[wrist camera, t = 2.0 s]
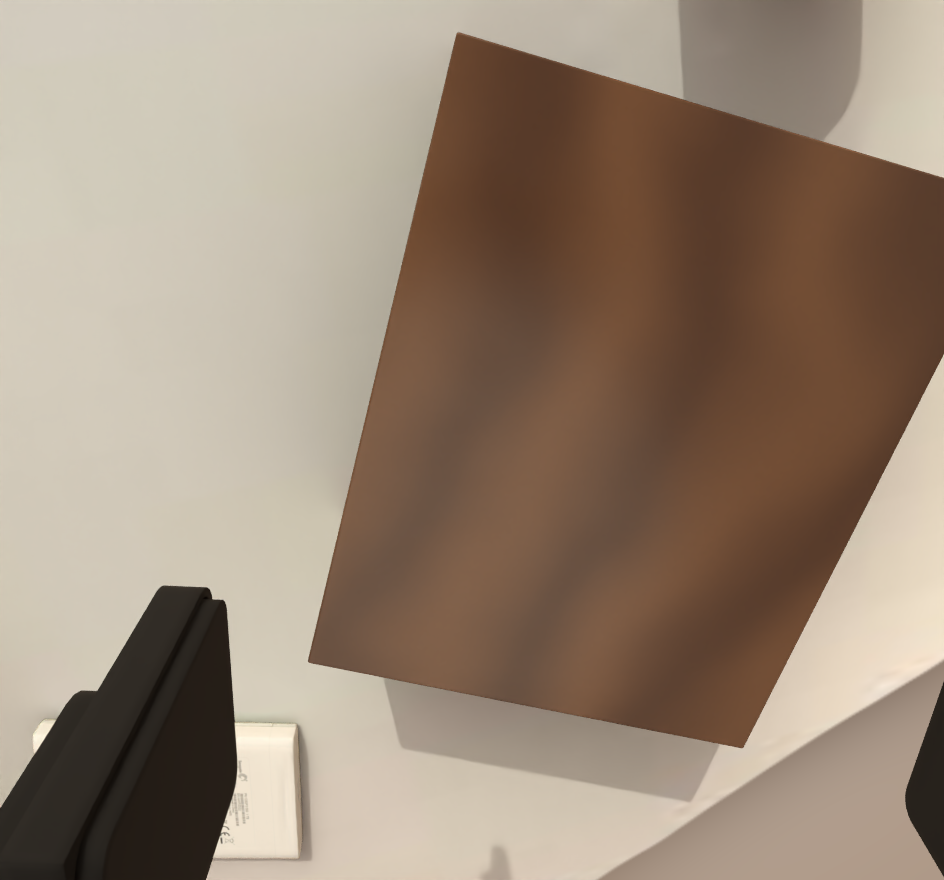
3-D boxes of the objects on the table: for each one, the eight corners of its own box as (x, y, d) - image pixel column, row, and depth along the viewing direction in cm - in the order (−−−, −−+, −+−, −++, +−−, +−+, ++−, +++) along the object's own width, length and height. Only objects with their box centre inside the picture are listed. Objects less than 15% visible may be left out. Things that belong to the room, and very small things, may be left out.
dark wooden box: (341, 519, 38) (307, 663, 29) (454, 44, 30) (456, 31, 21) (675, 593, 40) (743, 748, 31) (859, 165, 32) (1022, 201, 23)
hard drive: (45, 714, 42) (298, 719, 42) (68, 835, 45) (303, 839, 46) (30, 737, 40) (292, 742, 41) (55, 861, 44) (298, 864, 44)
